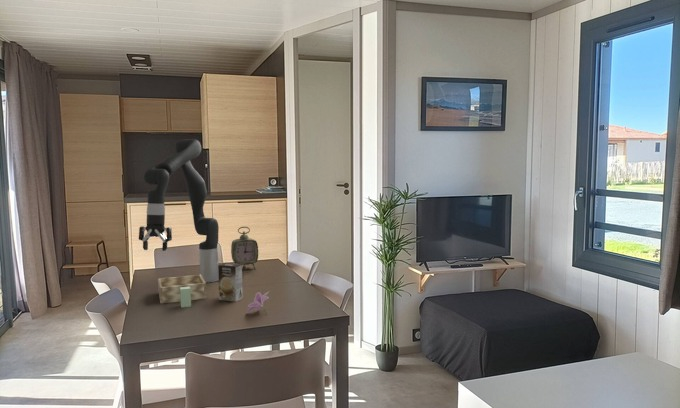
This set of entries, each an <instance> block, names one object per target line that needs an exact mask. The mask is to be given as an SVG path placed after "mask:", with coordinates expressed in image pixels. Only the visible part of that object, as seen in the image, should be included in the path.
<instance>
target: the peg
mask: <svg viewBox="0 0 680 408" xmlns="http://www.w3.org/2000/svg"><path fill="white" fill-rule="evenodd" d="M179 302H180V307H181V309H183V308H189V307H191V308H192V300H191V291H190V287H180V301H179Z"/></svg>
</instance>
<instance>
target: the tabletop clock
mask: <svg viewBox="0 0 680 408" xmlns="http://www.w3.org/2000/svg"><path fill="white" fill-rule="evenodd" d="M240 229H247V230H248V231H242V232H240ZM250 232H251V230H250V227H248V226H240V227H238V229H237V233H239V234H241V235H239V238H236V239H234V240H231V241H232V242H231V245H230V254H231V255H230V256H231V260H232V261H233V262H232V263H237V264H242V269H244V268H245V269H246V265H252V267H253V269H254V270H256V269H257V266H255V263H257V262H258V260H259V245H258V242H257V240H255V239H253V238H251V237H249V236H248V234H249V233H250Z"/></svg>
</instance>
